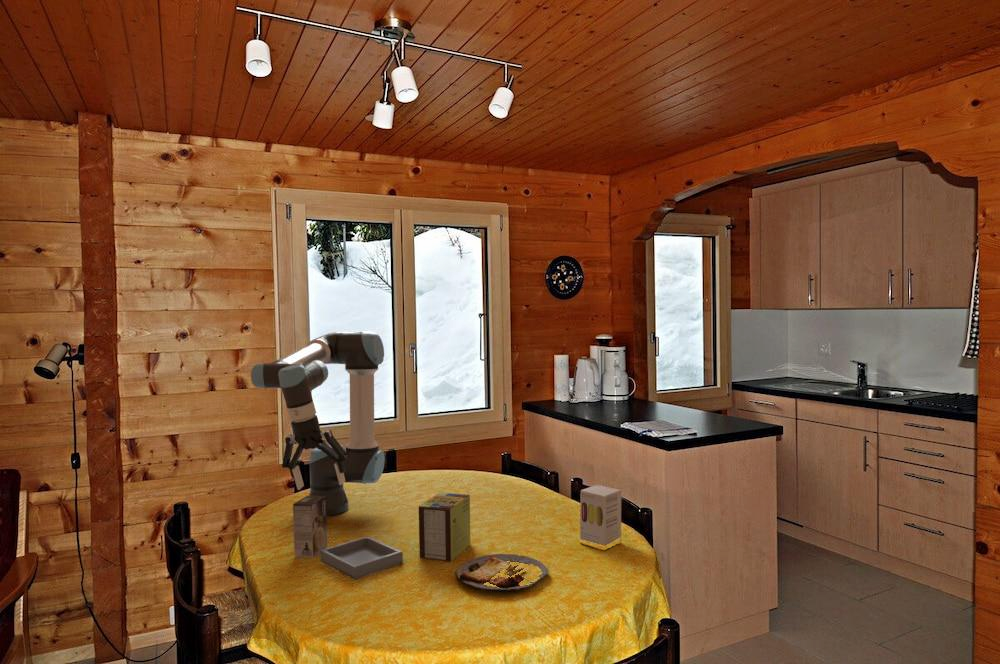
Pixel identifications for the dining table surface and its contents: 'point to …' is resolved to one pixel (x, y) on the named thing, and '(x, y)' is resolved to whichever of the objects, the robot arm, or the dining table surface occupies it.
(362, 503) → the dining table surface
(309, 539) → the coffee box
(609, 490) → the supplement box
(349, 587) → the dining table surface
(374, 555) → the tray
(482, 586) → the food plate
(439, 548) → the protein box
